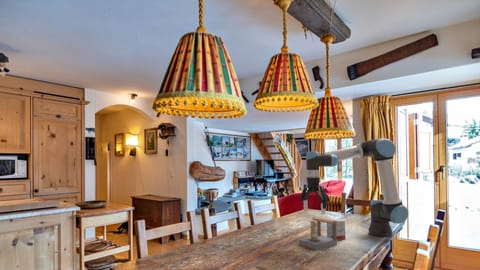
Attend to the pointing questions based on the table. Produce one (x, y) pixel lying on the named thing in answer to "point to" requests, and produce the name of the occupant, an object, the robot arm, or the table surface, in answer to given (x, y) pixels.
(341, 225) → the ink box
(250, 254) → the table surface
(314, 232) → the peg
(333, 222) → the socket porch
